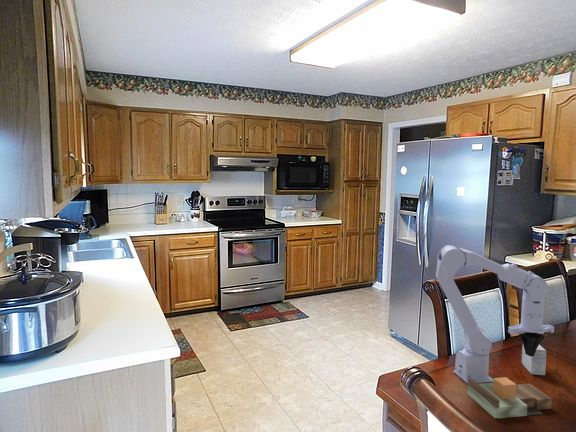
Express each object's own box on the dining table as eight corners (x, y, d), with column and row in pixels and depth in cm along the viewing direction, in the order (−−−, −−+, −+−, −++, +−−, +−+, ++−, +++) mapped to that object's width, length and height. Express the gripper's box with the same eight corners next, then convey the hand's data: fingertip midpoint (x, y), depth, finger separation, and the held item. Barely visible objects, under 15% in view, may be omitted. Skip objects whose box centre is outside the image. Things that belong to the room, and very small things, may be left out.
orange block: (502, 399, 104) (503, 385, 104) (492, 391, 108) (493, 378, 108) (515, 397, 105) (516, 384, 105) (505, 390, 109) (505, 377, 109)
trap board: (495, 418, 100) (496, 400, 100) (467, 394, 112) (468, 378, 112) (557, 412, 103) (558, 395, 103) (523, 389, 115) (524, 373, 115)
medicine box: (545, 376, 123) (547, 350, 123) (530, 374, 124) (532, 349, 124) (534, 364, 131) (536, 341, 130) (520, 363, 132) (522, 339, 131)
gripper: (521, 318, 112) (518, 362, 113) (563, 316, 114) (560, 359, 115) (504, 310, 119) (502, 352, 120) (544, 308, 121) (541, 349, 122)
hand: (529, 355), depth 118 cm, fingers closed
